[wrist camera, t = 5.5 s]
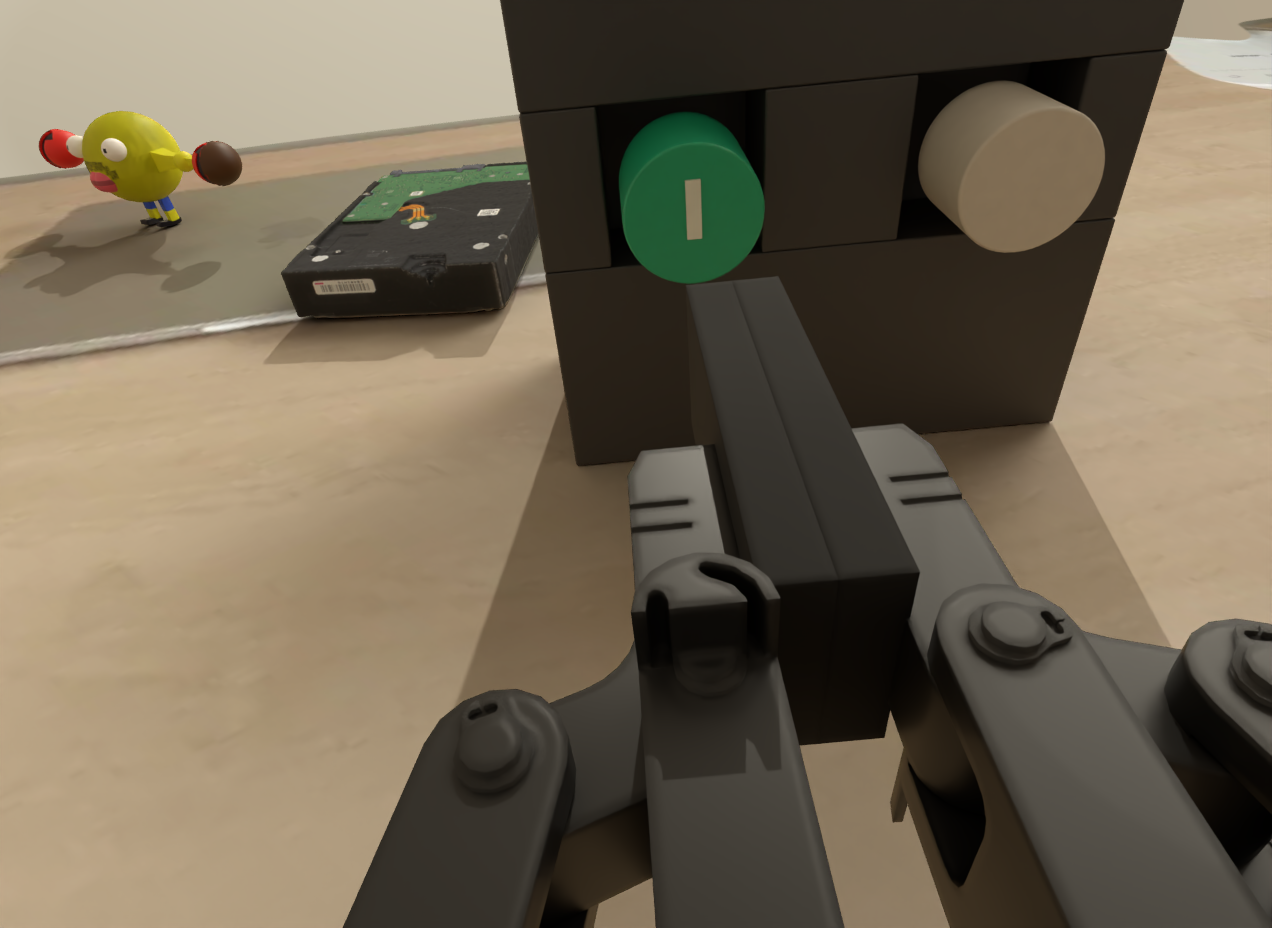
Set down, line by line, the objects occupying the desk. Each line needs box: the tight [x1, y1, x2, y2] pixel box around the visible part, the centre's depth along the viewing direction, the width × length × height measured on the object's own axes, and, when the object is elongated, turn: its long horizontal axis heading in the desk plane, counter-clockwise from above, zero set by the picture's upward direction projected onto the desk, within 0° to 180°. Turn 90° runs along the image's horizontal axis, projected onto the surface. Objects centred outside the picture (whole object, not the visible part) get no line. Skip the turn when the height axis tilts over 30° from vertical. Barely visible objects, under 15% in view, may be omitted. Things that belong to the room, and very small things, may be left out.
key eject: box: [918, 80, 1105, 253], centre depth 19 cm, size 3×3×3 cm
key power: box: [619, 112, 765, 284], centre depth 19 cm, size 3×3×3 cm
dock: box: [500, 0, 1184, 466], centre depth 24 cm, size 8×16×14 cm, turn 93°
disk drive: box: [281, 162, 539, 318], centre depth 40 cm, size 10×3×15 cm
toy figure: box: [39, 111, 242, 227], centre depth 47 cm, size 18×6×7 cm, turn 63°
